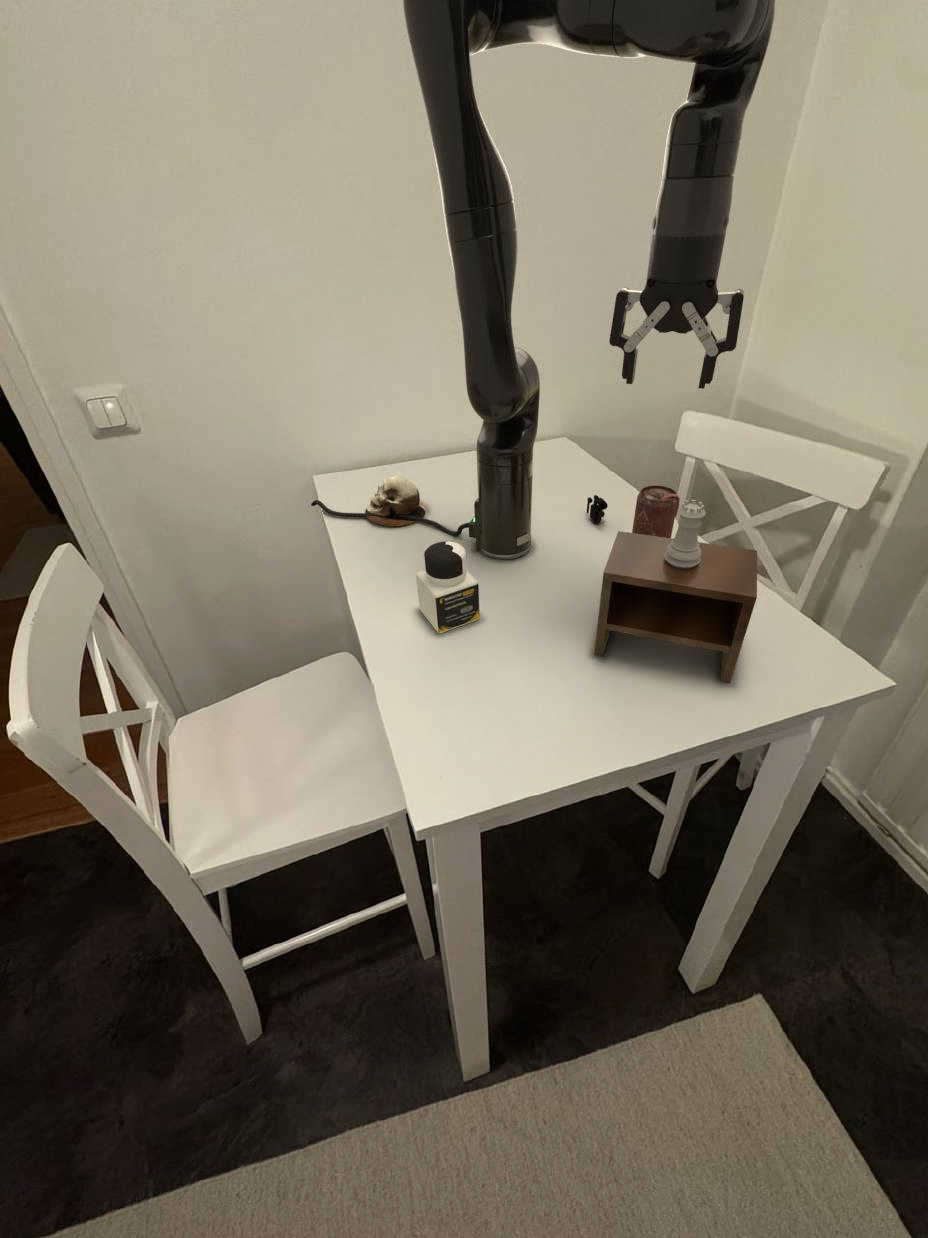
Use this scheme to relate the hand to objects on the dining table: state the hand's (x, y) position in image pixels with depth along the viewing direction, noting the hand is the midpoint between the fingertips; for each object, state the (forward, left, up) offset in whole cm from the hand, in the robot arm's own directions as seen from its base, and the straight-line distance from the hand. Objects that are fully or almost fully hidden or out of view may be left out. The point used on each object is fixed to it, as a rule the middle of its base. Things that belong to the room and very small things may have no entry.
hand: (665, 384), depth 74 cm
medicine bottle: (-26, -12, -33) cm, 44 cm away
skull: (-49, +16, -33) cm, 61 cm away
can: (+1, +10, -33) cm, 35 cm away
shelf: (+6, -9, -33) cm, 35 cm away
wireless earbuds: (-10, +24, -33) cm, 42 cm away
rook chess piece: (+6, -9, -19) cm, 22 cm away
